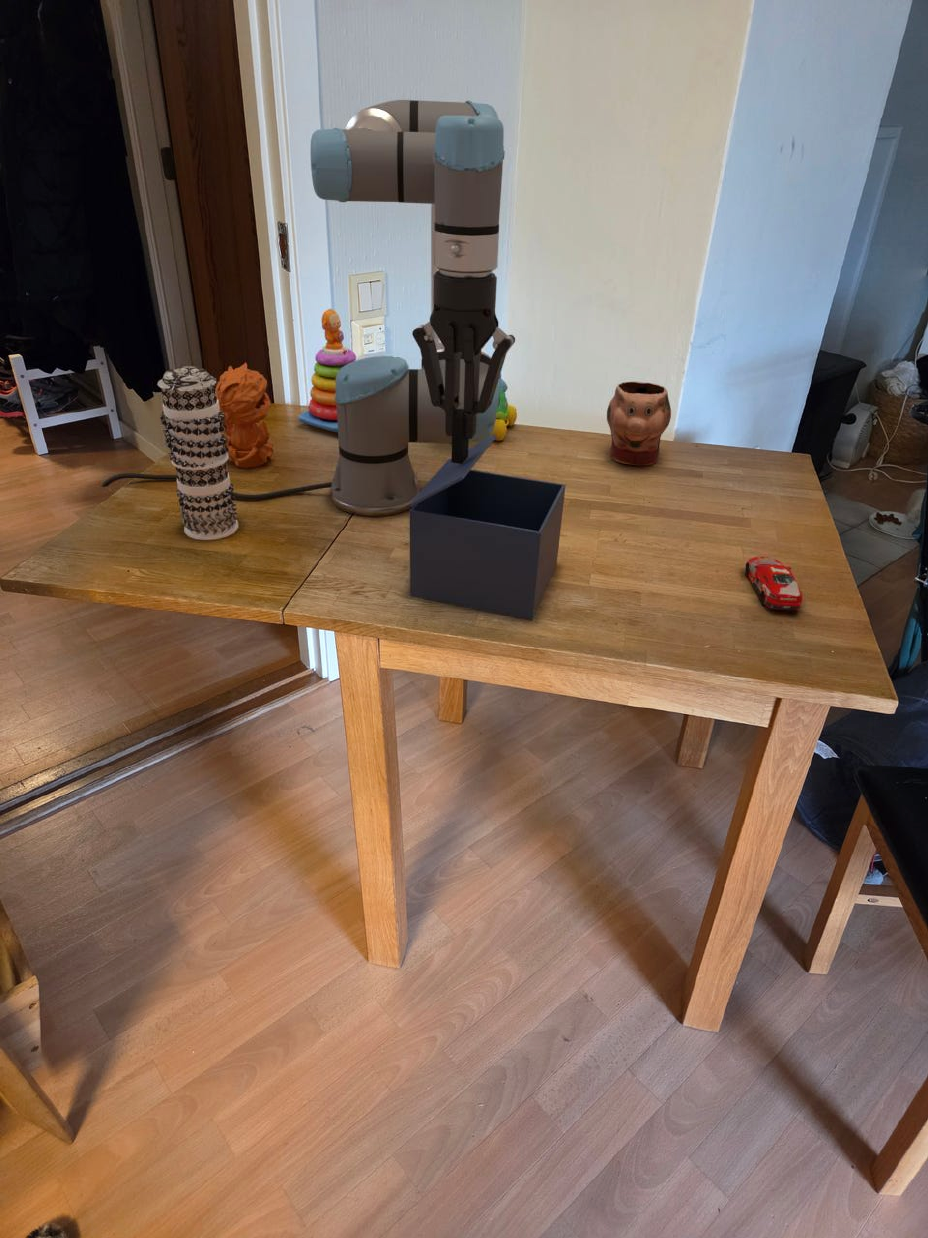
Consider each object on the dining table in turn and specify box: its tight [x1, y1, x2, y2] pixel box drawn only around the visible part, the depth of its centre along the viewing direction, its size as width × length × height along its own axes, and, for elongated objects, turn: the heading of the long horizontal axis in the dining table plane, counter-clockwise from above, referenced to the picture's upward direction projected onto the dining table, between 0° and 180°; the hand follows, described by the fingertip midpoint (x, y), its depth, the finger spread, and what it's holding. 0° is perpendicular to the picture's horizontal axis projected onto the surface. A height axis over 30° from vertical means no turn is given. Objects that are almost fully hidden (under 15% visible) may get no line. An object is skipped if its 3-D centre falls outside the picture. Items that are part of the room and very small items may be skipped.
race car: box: [744, 555, 803, 611], centre depth 113 cm, size 13×5×4 cm, turn 177°
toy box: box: [408, 469, 566, 621], centre depth 111 cm, size 18×16×13 cm
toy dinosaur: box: [215, 362, 275, 469], centre depth 143 cm, size 11×11×18 cm
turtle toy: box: [492, 378, 518, 442], centre depth 160 cm, size 17×23×12 cm
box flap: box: [409, 435, 497, 508], centre depth 106 cm, size 9×16×1 cm
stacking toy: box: [298, 308, 357, 433], centre depth 158 cm, size 14×13×23 cm
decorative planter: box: [606, 381, 672, 466], centre depth 152 cm, size 20×12×14 cm, turn 174°
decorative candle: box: [157, 365, 239, 541], centre depth 118 cm, size 9×9×25 cm
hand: (459, 459), depth 105 cm, fingers closed
